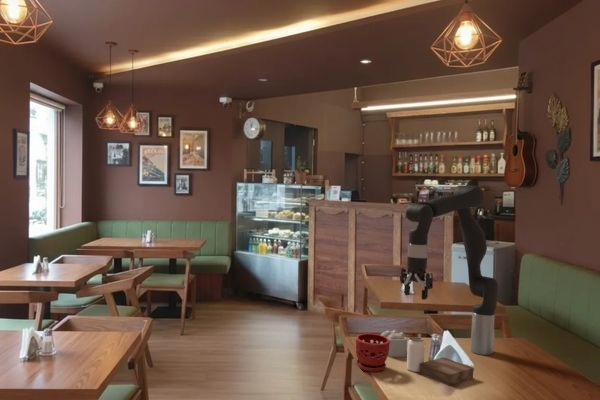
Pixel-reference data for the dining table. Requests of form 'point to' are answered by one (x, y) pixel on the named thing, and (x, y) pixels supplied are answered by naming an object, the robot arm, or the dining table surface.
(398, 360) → the dining table surface
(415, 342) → the can
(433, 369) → the walnut stand
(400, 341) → the lumpy-topped squat cylinder
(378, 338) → the plant pot
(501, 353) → the dining table surface
